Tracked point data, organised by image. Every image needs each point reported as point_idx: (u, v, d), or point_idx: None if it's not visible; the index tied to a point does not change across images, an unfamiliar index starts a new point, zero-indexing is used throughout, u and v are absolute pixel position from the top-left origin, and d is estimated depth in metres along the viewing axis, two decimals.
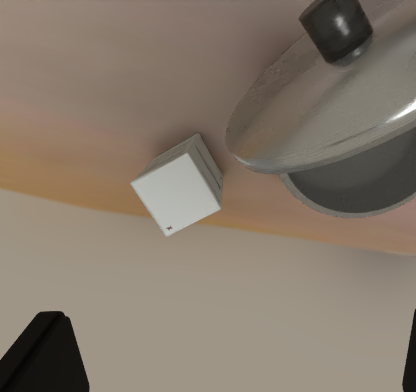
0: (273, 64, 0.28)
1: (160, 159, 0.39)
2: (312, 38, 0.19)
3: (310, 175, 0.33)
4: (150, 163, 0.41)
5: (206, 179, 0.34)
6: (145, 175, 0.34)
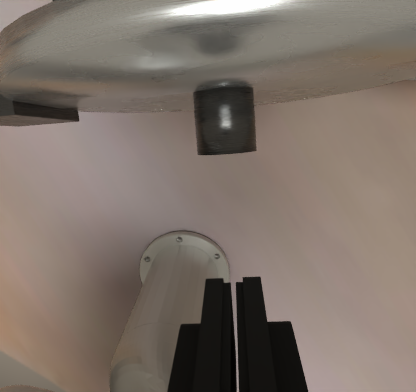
0: (267, 103, 0.24)
1: None
2: None
3: None
4: None
5: None
6: None
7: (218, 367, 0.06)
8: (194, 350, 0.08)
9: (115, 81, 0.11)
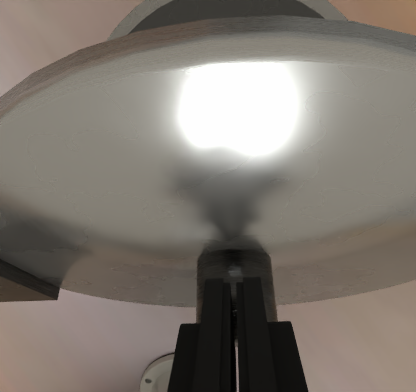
0: (288, 302, 0.20)
1: None
2: (275, 304, 0.12)
3: None
4: None
5: None
6: None
7: (218, 367, 0.06)
8: (194, 350, 0.08)
9: (96, 211, 0.09)
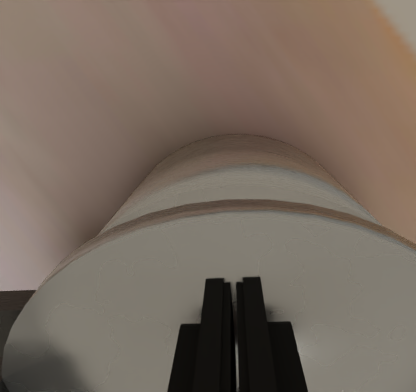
0: None
1: None
2: None
3: None
4: None
5: None
6: None
7: (218, 367, 0.06)
8: (194, 350, 0.08)
9: (127, 338, 0.11)
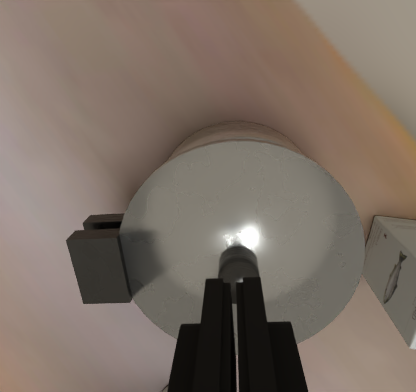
0: None
1: None
2: None
3: None
4: None
5: None
6: None
7: (218, 367, 0.06)
8: (194, 350, 0.08)
9: (184, 205, 0.24)
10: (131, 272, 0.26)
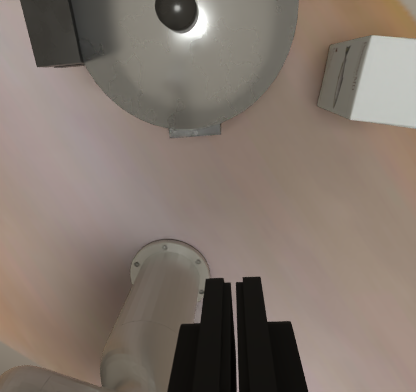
0: (225, 116, 0.29)
1: None
2: (196, 5, 0.25)
3: None
4: None
5: (356, 78, 0.29)
6: (405, 126, 0.29)
7: (218, 367, 0.06)
8: (194, 350, 0.08)
9: None
10: (81, 31, 0.27)
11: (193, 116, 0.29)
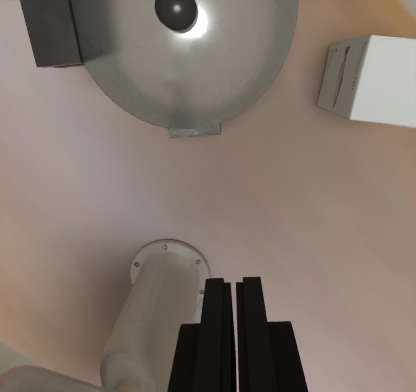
0: (225, 116, 0.29)
1: None
2: (196, 5, 0.25)
3: None
4: None
5: (355, 78, 0.29)
6: (405, 126, 0.29)
7: (218, 367, 0.06)
8: (194, 350, 0.08)
9: None
10: (81, 31, 0.27)
11: (193, 116, 0.29)
